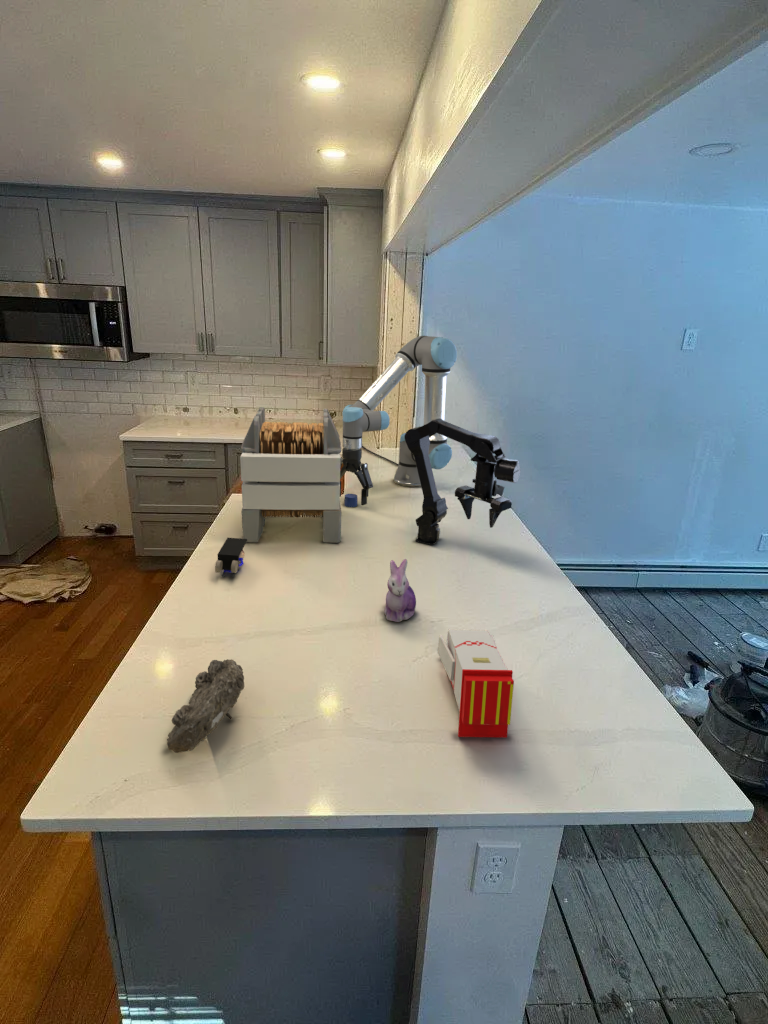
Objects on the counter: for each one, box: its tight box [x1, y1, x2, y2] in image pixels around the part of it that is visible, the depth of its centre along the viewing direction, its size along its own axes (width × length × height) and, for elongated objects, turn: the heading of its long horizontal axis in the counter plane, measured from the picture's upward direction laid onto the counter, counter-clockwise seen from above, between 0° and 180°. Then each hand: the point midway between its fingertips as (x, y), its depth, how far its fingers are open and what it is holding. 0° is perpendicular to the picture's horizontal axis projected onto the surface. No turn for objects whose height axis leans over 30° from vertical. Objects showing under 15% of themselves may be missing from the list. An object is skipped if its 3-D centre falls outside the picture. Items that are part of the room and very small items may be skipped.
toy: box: [437, 628, 515, 738], centre depth 117 cm, size 12×13×30 cm
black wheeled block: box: [214, 537, 248, 578], centre depth 166 cm, size 7×8×15 cm
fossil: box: [166, 658, 245, 754], centre depth 106 cm, size 22×10×15 cm
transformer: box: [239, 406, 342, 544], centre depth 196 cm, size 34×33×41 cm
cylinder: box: [343, 493, 358, 508], centre depth 226 cm, size 5×5×4 cm
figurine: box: [384, 558, 417, 623], centre depth 145 cm, size 9×10×15 cm
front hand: (479, 523), depth 182 cm, fingers open, 9 cm apart
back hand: (350, 500), depth 226 cm, fingers open, 12 cm apart
